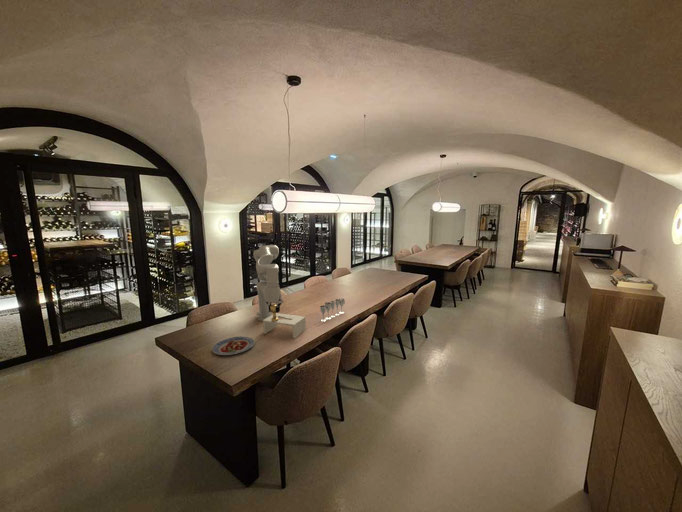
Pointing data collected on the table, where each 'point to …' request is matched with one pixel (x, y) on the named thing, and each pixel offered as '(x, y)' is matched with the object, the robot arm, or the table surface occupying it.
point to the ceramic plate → (233, 345)
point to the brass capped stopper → (273, 310)
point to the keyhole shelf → (286, 323)
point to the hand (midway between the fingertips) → (274, 311)
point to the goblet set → (331, 305)
